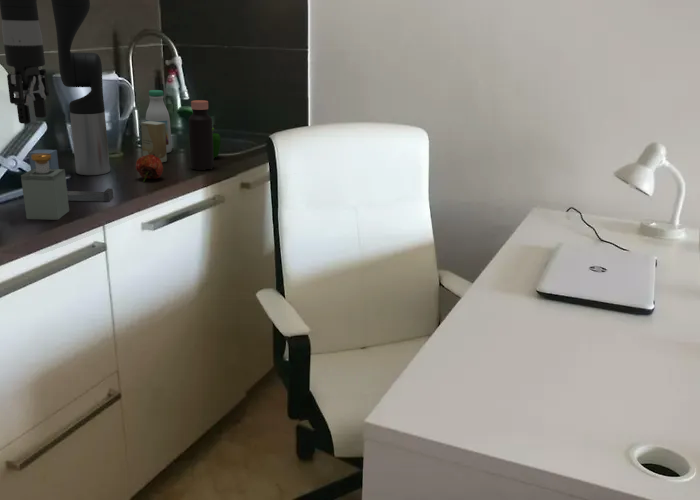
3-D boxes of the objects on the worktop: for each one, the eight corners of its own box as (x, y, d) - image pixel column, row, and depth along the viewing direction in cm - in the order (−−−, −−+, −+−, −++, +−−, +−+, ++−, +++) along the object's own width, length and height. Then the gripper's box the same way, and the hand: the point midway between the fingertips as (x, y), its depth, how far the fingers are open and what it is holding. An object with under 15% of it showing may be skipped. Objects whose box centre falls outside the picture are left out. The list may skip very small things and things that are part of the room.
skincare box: (142, 161, 212) (139, 122, 208) (151, 159, 216) (148, 120, 212) (159, 164, 210) (156, 124, 206) (168, 161, 214) (165, 122, 210)
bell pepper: (188, 157, 220) (187, 126, 216) (209, 154, 226) (208, 124, 222) (205, 161, 214) (204, 130, 211) (225, 158, 220) (224, 127, 217)
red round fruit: (160, 190, 189) (173, 163, 194) (146, 173, 183) (160, 145, 189) (138, 190, 192) (151, 163, 197) (124, 173, 186) (138, 145, 191)
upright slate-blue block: (42, 194, 172) (37, 149, 168) (62, 194, 172) (57, 149, 169) (33, 200, 167) (27, 153, 163) (54, 200, 167) (48, 154, 163)
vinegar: (194, 165, 209) (191, 99, 202) (216, 166, 209) (213, 100, 202) (188, 170, 203) (185, 102, 196) (211, 171, 203) (208, 103, 196)
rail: (31, 196, 171) (30, 186, 170) (113, 197, 172) (112, 188, 171) (25, 199, 168) (24, 190, 167) (109, 201, 169) (108, 192, 168)
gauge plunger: (39, 182, 156) (35, 152, 154) (57, 183, 156) (53, 153, 154) (32, 187, 153) (28, 156, 150) (50, 187, 153) (46, 156, 150)
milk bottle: (153, 148, 231) (149, 88, 224) (175, 150, 230) (172, 89, 223) (144, 153, 224) (139, 91, 217) (166, 154, 223) (162, 92, 216)
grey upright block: (39, 210, 160) (33, 168, 157) (69, 210, 160) (64, 169, 157) (26, 219, 153) (20, 175, 150) (58, 219, 154) (53, 176, 150)
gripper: (26, 45, 137) (36, 126, 143) (54, 41, 151) (62, 115, 156) (-11, 44, 137) (0, 125, 143) (20, 40, 151) (29, 114, 156)
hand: (33, 120), depth 150 cm, fingers open, 8 cm apart
